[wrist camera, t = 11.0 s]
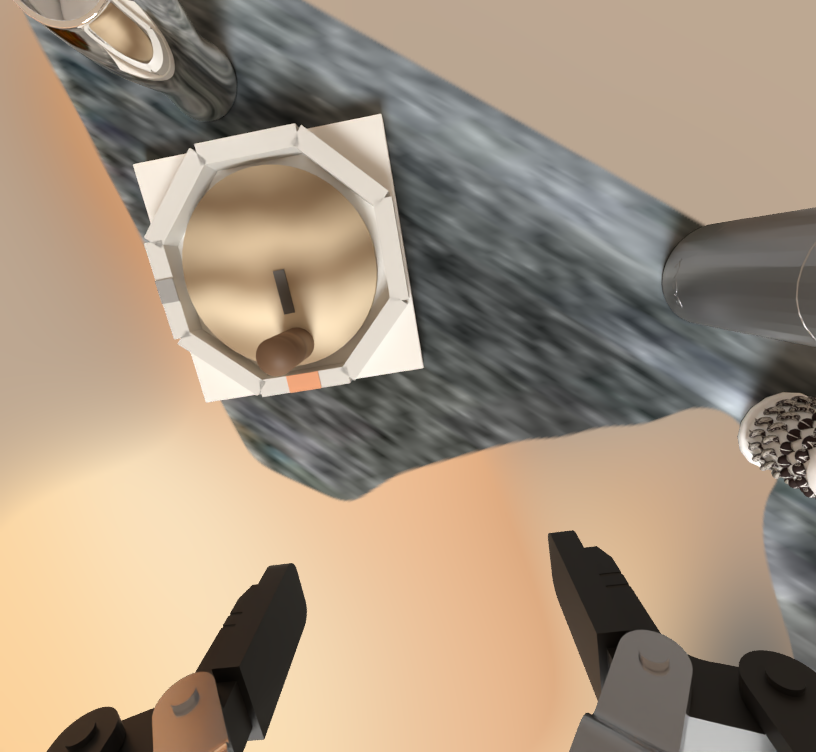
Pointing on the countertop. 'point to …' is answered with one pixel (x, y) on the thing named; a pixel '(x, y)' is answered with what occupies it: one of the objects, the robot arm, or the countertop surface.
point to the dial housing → (355, 179)
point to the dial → (279, 266)
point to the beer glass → (145, 48)
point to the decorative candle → (783, 439)
